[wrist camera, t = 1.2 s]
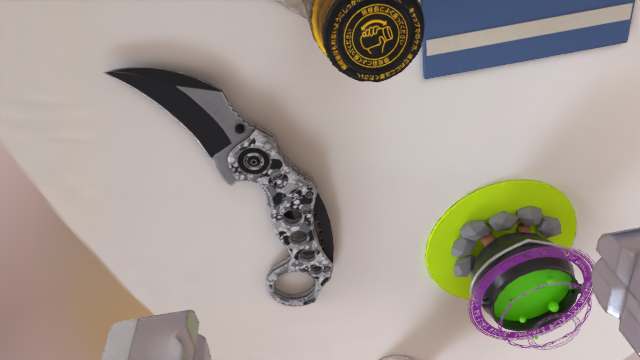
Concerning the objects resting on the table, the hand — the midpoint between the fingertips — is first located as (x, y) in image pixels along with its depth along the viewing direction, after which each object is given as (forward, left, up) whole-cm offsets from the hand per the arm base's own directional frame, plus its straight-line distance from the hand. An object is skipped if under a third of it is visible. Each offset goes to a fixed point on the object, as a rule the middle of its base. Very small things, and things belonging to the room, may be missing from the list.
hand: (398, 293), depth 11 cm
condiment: (0, +2, -30) cm, 30 cm away
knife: (+17, -6, -30) cm, 35 cm away
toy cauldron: (+28, +16, -30) cm, 44 cm away
